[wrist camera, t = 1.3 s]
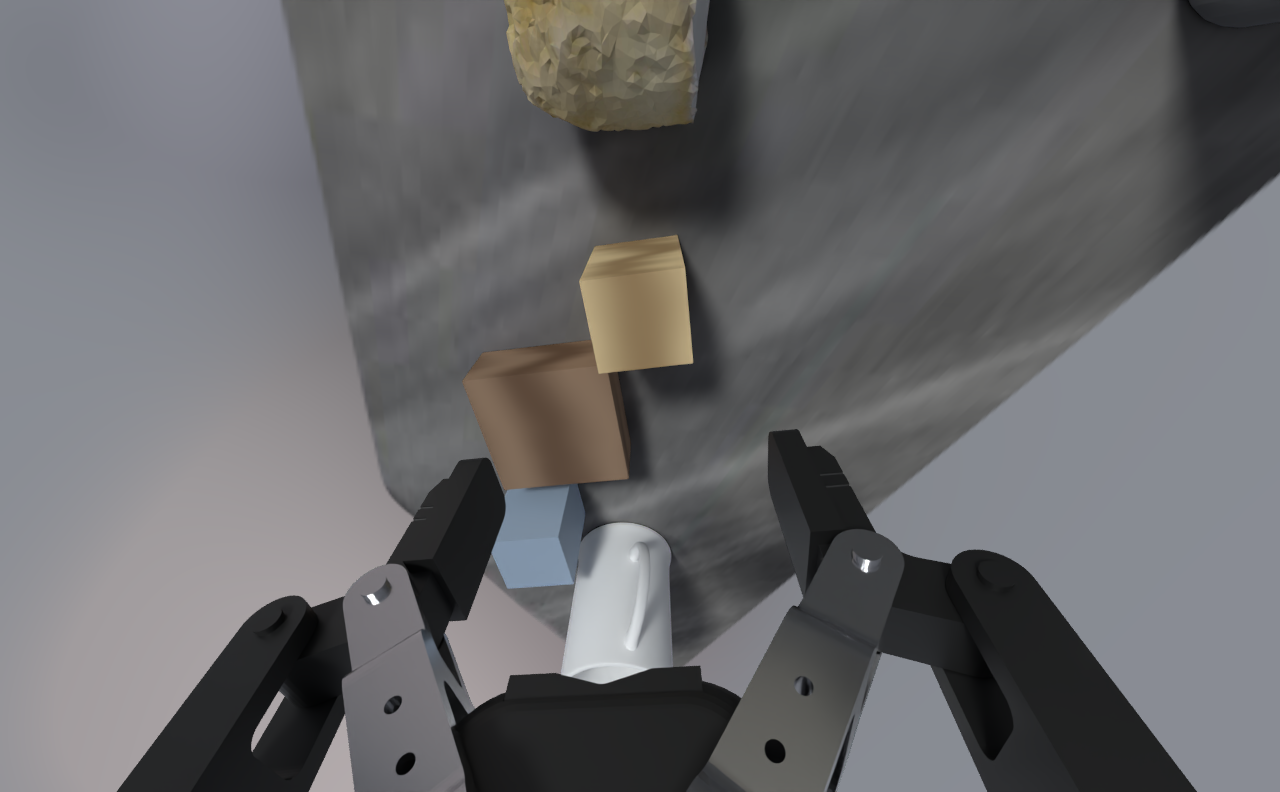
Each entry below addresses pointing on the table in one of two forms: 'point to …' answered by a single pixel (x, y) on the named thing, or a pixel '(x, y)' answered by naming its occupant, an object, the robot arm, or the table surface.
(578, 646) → the mug
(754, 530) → the table surface
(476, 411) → the walnut slab
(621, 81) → the coral
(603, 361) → the oak block
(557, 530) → the slate block
